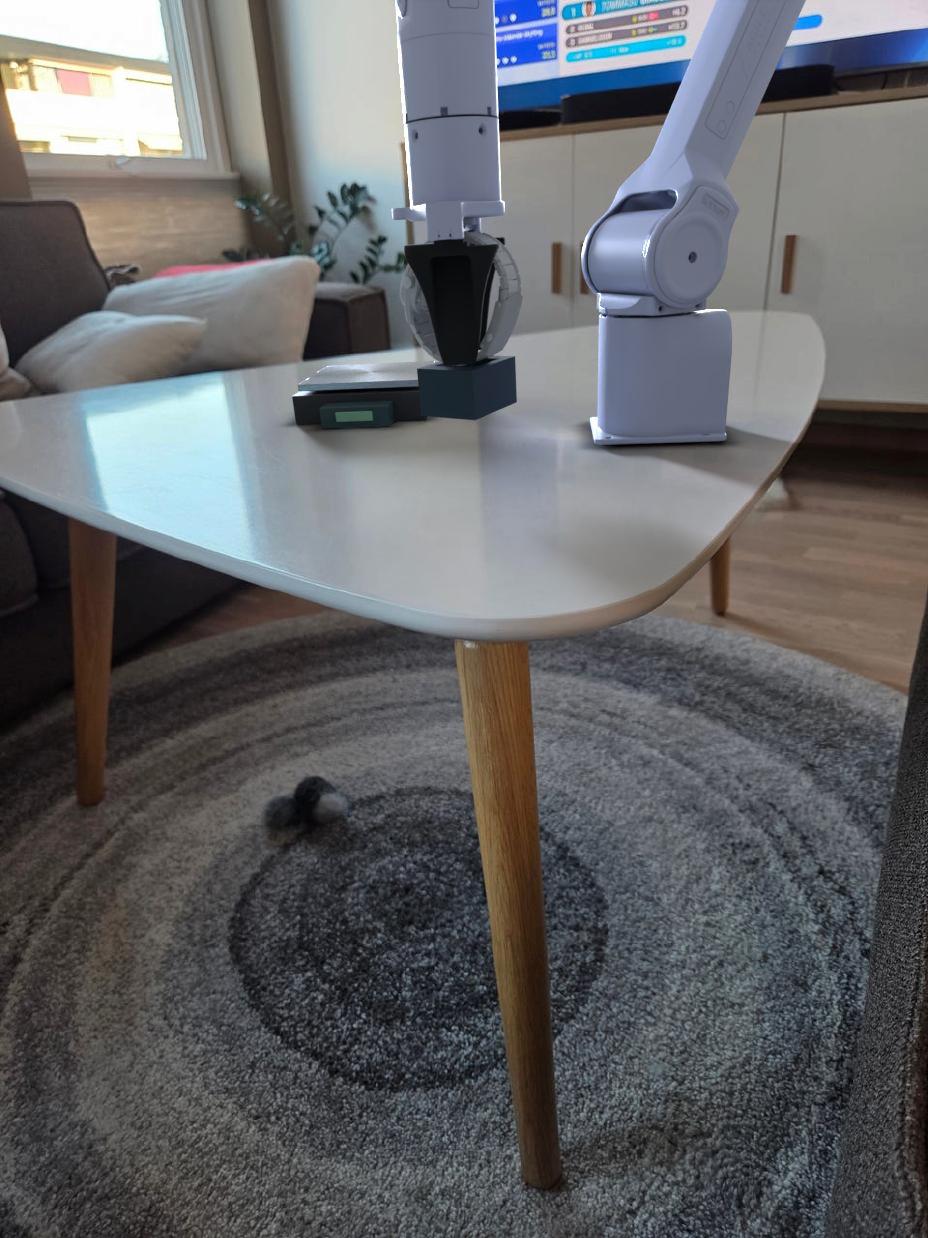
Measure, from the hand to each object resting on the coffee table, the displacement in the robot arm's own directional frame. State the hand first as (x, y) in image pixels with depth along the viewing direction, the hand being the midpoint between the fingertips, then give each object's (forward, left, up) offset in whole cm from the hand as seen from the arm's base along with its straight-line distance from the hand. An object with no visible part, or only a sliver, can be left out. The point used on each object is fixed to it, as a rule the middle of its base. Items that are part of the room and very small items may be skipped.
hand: (464, 356), depth 55 cm
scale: (+11, -20, -7) cm, 24 cm away
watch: (0, 0, -4) cm, 4 cm away
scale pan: (+11, -21, -4) cm, 24 cm away
